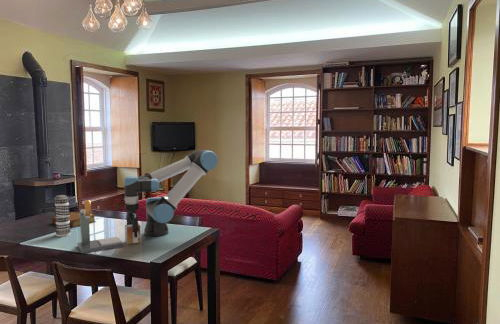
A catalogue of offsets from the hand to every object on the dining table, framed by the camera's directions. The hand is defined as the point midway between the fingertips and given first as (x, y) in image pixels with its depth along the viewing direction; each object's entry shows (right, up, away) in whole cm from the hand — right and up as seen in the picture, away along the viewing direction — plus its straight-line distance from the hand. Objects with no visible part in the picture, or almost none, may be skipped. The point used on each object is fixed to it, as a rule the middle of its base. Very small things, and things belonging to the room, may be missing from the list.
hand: (133, 240), depth 230 cm
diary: (-56, +2, +48) cm, 74 cm away
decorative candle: (-50, 0, +18) cm, 53 cm away
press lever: (-22, +17, -15) cm, 31 cm away
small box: (0, -2, 0) cm, 2 cm away
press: (-17, -2, -7) cm, 18 cm away
